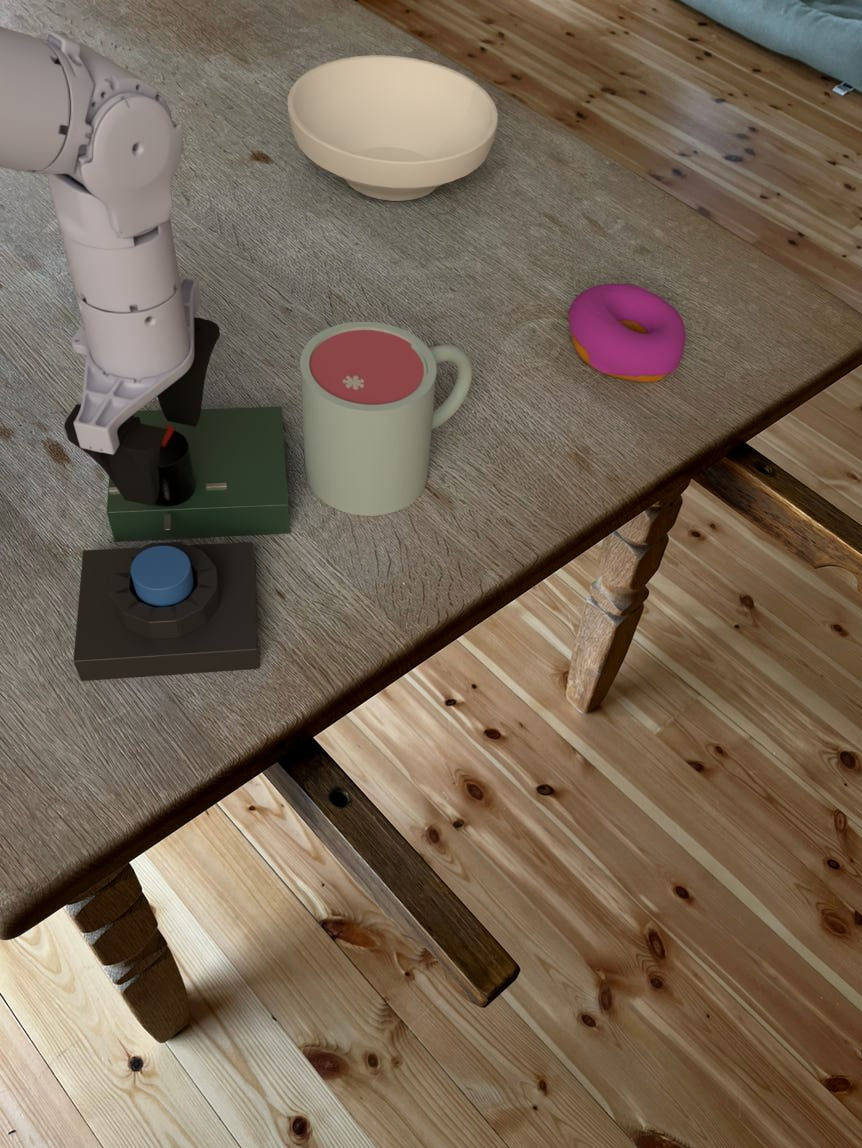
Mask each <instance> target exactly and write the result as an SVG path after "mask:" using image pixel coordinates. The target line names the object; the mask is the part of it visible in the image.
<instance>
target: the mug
mask: <svg viewBox="0 0 862 1148" xmlns="http://www.w3.org/2000/svg"><path fill="white" fill-rule="evenodd" d="M444 362H451V363H453V364H454V365H455V367H456V369H457V370H456V371H457V375H456V379H455V383H454V386H453V388H452V389H451V392H450V393H449V395H448V397H447V398H446V399H445V400H444V402H442V404H441V405H439V406H438V407H437V408H436V409H435V410H434V407H435V406H434V404H435V394H436V383H437V382H436V381H437V365H438V364H440V363H444ZM299 369H300V371H299V372H300V391H301V393H300V394H301V414H302V434H303V450H304V451H303V454H304V473H305V479H306V482H307V484H308V486H309V488H310V489H311V491H312V492H313V494H314V495H315V496H316V497H317V498H318V499H319V500H320V501H322V502H323V503H324V504H326V505H328V506H329V507H330V508H333V509H335V510H337V511H339V512H343V513H346V514H349V515H354V516H360V517H361V516H362V517H377V516H385V515H389V514H393V513H396V512H399V511H401V510H404V509H405V508H407V507H408V506H410V505H411V504H413V503H414V502H415V501H416V500H418V498H419V497H420V496H421V495H422V493H423V492H424V490H425V488H426V486H427V483H428V477H429V466H430V455H431V442H432V431H433V430H434V429H436V428H438V427H439V426H442V425H443V424H445V423H446V422H447V421H448V420H449V419H450V418H452V417H453V416H454V415H455V413H456V412H457V411H458V410H459V409H460V408H461V406H462V405H463V403H464V402H465V400H466V398H467V396H468V393H469V392H470V389H471V385H472V381H473V365H472V362H471V359H470V357H469V355H468V354H467V352H465V350H463V348H461V347H459V346H457V345H454V344H440V345H439V344H438V345H436V346H432V347H430V348H429V347H428V346H427V345H426V343H424V342H423V341H422V340H421V339H420V338H419V337H417V336H416V335H414V334H413V333H411V332H409V331H408V330H405V329H403V328H401V327H397V326H394V325H391V324H387V323H382V322H376V321H351V322H345V323H340V324H337V325H333V326H330V327H327V328H326V329H323V330H322V331H320V332H319V333H317V334H315V335H314V336H313V337H312V338H311V339H310V340H309V341H307V343H306V345H305V346H304V347H303V349H302V351H301V354H300V359H299Z"/></svg>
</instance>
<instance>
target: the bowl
mask: <svg viewBox="0 0 862 1148" xmlns="http://www.w3.org/2000/svg"><path fill="white" fill-rule="evenodd" d="M286 101H287V102H286V103H287V112H288V121H289V126H290V128H291V132H292V134H293V138H294V140H295V142H296V144H297V146H298V148H299V149H300V150H301V151H302V153H304V155H305V156H306V158H308V159H309V160H310V161H312V162H313V163H314V164H316V165H317V166H318V167H320V168H322V169H324V170H326V171H328V172H329V173H332V174H334V175H335V176H337V177H339V178H341V179H342V180H344V181H345V182H346V183H347V184H348V185H349V187H351V188H352V189H353V190H355V191H357V192H358V193H360V194H363V195H364V196H367V197H370V198H373V199H377V200H382V201H389V202H403V201H413V200H416V199H417V200H418V199H421V198H423V197H425V196H428V195H429V194H431V193H433V192H434V191H435V190H436V189H437V188H438V187H441V186H443V185H445V184H447V183H451V182H454V181H457V180H459V179H461V178H464V177H466V176H468V175H469V174H471V173H473V172H474V171H475V170H477V169H478V168H479V167H481V165H482V164H483V163H484V162H485V161H486V160H487V157H488V155H489V153H490V152H491V149H492V146H493V145H494V142H495V138H496V136H497V129H498V123H499V122H498V121H499V111H498V109H497V106H496V103H495V102H494V101H493V99H492V98H491V96H490V95H489V93H488V92H487V91H486V90H485V89H484V88H483V87H482V86H480V85H479V83H477V82H476V81H474V80H473V79H471V78H470V77H468V76H466V75H465V74H463V73H460V72H458V71H456V70H455V69H452V68H450V67H448V66H444V65H441V64H438V63H435V62H432V61H427V60H423V59H419V58H414V57H407V56H399V55H388V54H387V55H382V54H369V55H355V56H350V57H344V58H343V57H342V58H338V59H335V60H331V61H329V62H325V63H322V64H320V65H317V66H316V67H314V68H311V69H310V70H308V71H307V72H305V73H304V74H303V75H301V76H300V77H299V78H297V79H296V81H295V82H294V84H293V85H291V88H290V89H289V93H288V95H287V99H286Z"/></svg>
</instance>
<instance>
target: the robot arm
mask: <svg viewBox="0 0 862 1148" xmlns="http://www.w3.org/2000/svg"><path fill="white" fill-rule="evenodd" d="M159 93H160V91H159V90H158V89H157V88H156V87H155V86H153V85H152V84H150V83H149V82H147V81H146V80H144V79H142V78H140V77H139V76H138V75H136V74H134V73H132V72H130V71H129V70H127V69H126V68H124V67H123V66H121V65H120V64H118V63H116V62H114V61H113V60H111V59H109V58H108V57H106V56H105V55H103V54H102V53H100V52H98V51H96V50H95V49H93V48H92V47H91V46H88V45H86V43H85V44H84V43H83V42H79V41H76V40H75V39H74V38H71V37H70V36H69V35H68V34H67V33H66V32H64V31H62V30H51V29H50V30H49V29H48V30H47V31H46V32H43V33H41V34H38V35H37V36H33V35H29V34H26V33H24V32H20V31H17V30H13V29H11V28H10V29H9V28H7V27H4V26H0V168H3V169H7V170H14V171H17V172H24V173H30V174H35V175H45V176H46V180H47V183H48V188H49V192H50V197H51V201H52V204H53V209H54V212H55V216H56V221H57V224H58V230H59V233H60V236H61V240H62V245H63V249H64V253H65V256H66V262H67V264H68V269H69V273H70V276H71V277H70V278H71V281H72V286H73V289H74V294H75V298H76V302H77V306H78V309H79V313H80V317H81V321H82V325H81V326H79V327H78V329H77V330H76V331H75V333H74V335H73V336H72V337H71V339H70V344H71V349H72V350H73V352H74V353H76V354H79V355H84V356H85V359H84V360H85V361H84V372H83V383H82V394H81V395H82V396H81V403H80V404H78V403H76V404H75V406H74V407H73V408H72V410H71V412H70V413H69V415H68V417H67V418H66V420H65V421H64V430H65V435H66V438H67V440H68V442H70V443H71V444H72V445H74V446H76V447H77V448H78V449H80V450H82V451H83V452H84V453H86V454H87V455H88V456H89V457H90V458H91V459H92V460H94V461H95V462H96V464H98V465H99V466H100V467H101V468H102V470H103V471H104V472H105V473H106V475H107V476H108V478H109V477H110V479H111V480H112V481H113V483H114V484H115V486H116V487H117V489H118V490H119V492H120V493H121V495H122V496H123V498H124V499H125V500H127V501H131V502H136V503H141V504H146V505H150V506H153V505H155V503H156V501H157V499H158V495H159V471H158V461H159V453H160V447H161V444H162V441H163V438H164V436H165V434H166V432H167V431H168V429H165V428H160V427H155V426H150V425H145V424H141V422H140V418H139V417H136V418H135V417H134V414H135V413H136V412H137V411H139V410H141V409H142V408H144V407H145V406H146V405H147V404H149V403H150V402H151V401H153V400H154V399H155V398H157V400H158V403H159V406H160V410H162V411H163V414H164V416H165V418H166V419H167V421H170V422H174V423H179V424H184V425H189V426H194V427H196V425H197V423H198V422H199V418H200V414H201V409H203V408H202V407H203V399H204V391H205V390H204V389H205V384H206V383H205V382H206V376H207V372H208V367H209V364H210V360H211V358H212V354H213V352H214V349H215V346H216V344H217V343H218V340H219V338H220V336H221V331H220V329H221V328H220V326H219V324H217V323H216V322H215V321H213V320H210V319H206V318H201V317H196V316H195V314H196V313H198V312H199V310H200V309H201V307H202V305H203V303H202V297H201V288H200V281H199V279H196V278H192V277H188V276H182V275H180V272H179V266H178V260H177V252H176V247H175V246H176V245H175V240H174V234H173V233H174V232H173V227H172V220H171V213H170V212H171V210H172V209H174V202H173V201H174V200H173V195H172V194H173V193H172V185H173V184H172V183H173V179H174V176H175V173H176V171H177V170H178V169H177V168H178V166H179V163H180V160H181V157H182V153H183V148H184V126H183V125H182V124H180V123H179V124H178V123H177V121H175V120H173V117H172V115H171V110H170V107H169V105H168V104H167V101H166V100H165V98H164V97H163V96H162V95H160V94H159Z"/></svg>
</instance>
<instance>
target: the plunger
mask: <svg viewBox="0 0 862 1148" xmlns="http://www.w3.org/2000/svg"><path fill="white" fill-rule="evenodd" d="M131 576H132V579H133V583H134V587H135V591H136V593H137V595H138V596H139V598H140V599H142V600H143V601H144V602H146V603H148V604H150V605H154V606H170V605H174V604H176V603H179V602H181V601H182V600H184V599H185V598H186V597H187V596H188V595H189V594H190V592H191V591H192V588H193V585H194V579H193V574H192V568H191V563H190V560H189V558H188V556H187V555H186V554H185V553H184V552H183V551H181V550H180V549H178V548H175V547H172V546H165V545H161V546H154V547H151V548H148V549H146V550H144V551H142V552H141V553H140V554H138V555H137V556H136V557H135V559H134V560H133V562H132V565H131Z"/></svg>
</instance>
